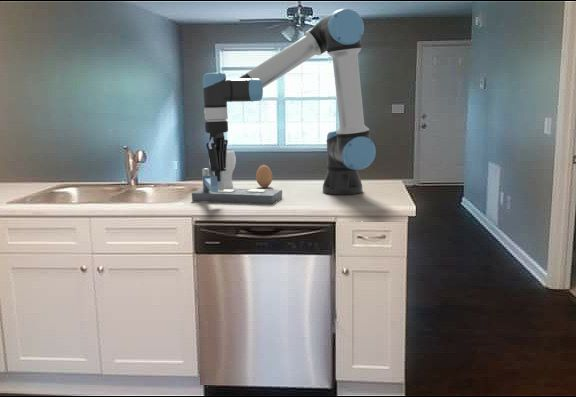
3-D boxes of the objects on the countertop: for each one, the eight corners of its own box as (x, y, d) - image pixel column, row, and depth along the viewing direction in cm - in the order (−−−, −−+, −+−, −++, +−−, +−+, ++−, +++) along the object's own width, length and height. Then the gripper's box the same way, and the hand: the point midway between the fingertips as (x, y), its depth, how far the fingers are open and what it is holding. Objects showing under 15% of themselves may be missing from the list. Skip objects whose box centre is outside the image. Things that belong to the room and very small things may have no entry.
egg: (275, 186, 230) (275, 164, 228) (266, 189, 224) (266, 166, 223) (262, 185, 233) (261, 163, 232) (253, 187, 228) (252, 165, 226)
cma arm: (219, 194, 184) (218, 176, 183) (210, 195, 184) (209, 177, 183) (211, 185, 203) (210, 169, 202) (203, 186, 202) (202, 169, 201)
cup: (232, 191, 220) (231, 153, 217) (206, 191, 222) (204, 153, 219) (240, 187, 230) (238, 150, 227) (215, 186, 232) (213, 150, 230)
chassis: (282, 198, 204) (281, 167, 202) (272, 204, 193) (271, 172, 191) (205, 195, 212) (204, 166, 210) (192, 201, 201) (190, 170, 199)
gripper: (213, 119, 194) (216, 186, 198) (197, 121, 182) (201, 193, 186) (233, 119, 192) (236, 187, 196) (219, 121, 180) (222, 194, 184)
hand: (219, 190), depth 191 cm, fingers closed
